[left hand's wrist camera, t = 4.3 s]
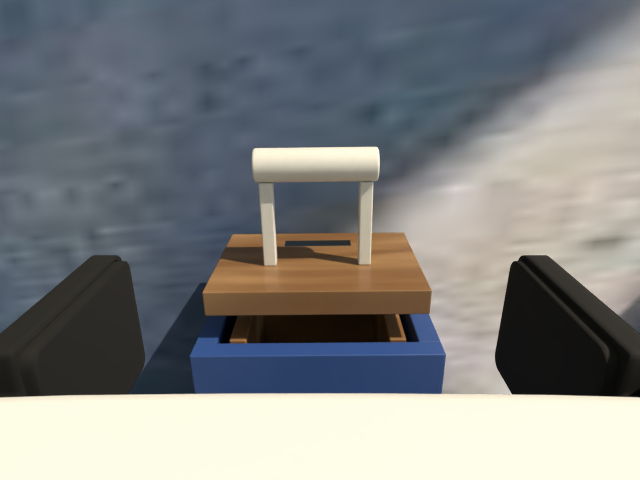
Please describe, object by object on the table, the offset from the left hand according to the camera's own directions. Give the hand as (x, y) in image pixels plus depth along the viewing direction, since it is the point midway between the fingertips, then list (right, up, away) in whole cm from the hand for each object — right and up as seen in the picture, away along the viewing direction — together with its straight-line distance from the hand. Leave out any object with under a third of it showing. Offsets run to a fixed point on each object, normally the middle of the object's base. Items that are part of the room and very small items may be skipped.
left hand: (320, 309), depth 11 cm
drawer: (0, -2, +17) cm, 17 cm away
